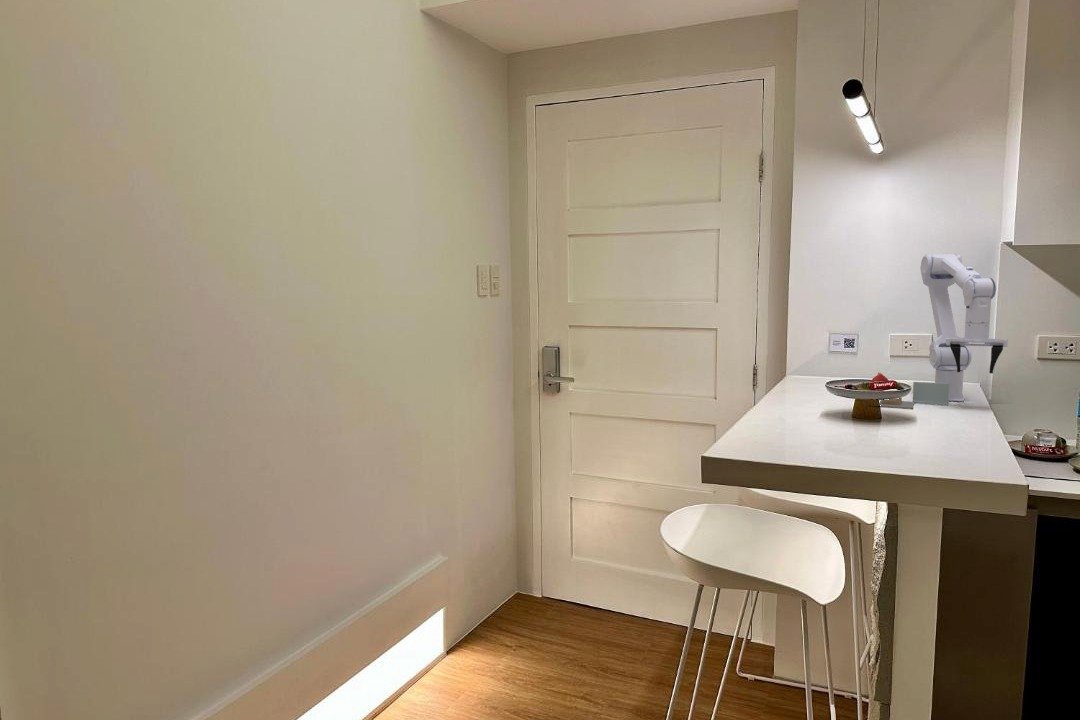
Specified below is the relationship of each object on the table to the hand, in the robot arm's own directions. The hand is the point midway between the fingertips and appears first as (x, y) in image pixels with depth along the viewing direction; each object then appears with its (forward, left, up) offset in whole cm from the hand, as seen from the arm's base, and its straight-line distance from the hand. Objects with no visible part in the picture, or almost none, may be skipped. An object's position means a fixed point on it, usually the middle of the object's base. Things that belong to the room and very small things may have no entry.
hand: (974, 372), depth 206 cm
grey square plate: (+3, -20, -10) cm, 23 cm away
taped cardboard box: (+3, -20, -10) cm, 22 cm away
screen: (-4, -11, -10) cm, 15 cm away
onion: (-6, -24, -10) cm, 27 cm away
